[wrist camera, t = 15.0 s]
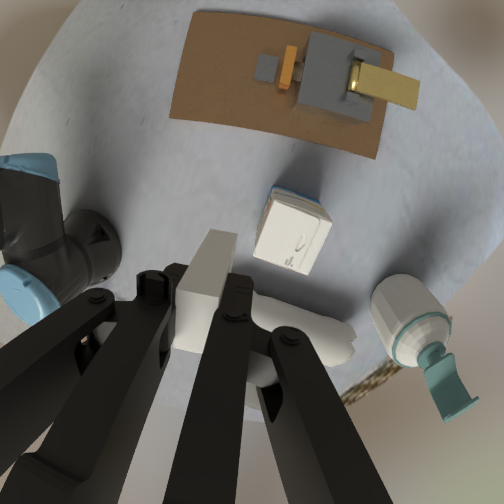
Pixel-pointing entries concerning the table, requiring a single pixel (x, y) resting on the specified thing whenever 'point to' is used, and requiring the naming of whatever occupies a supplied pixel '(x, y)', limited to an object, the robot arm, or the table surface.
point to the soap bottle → (420, 339)
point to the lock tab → (384, 85)
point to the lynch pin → (290, 68)
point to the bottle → (307, 328)
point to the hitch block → (268, 77)
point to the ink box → (291, 230)
